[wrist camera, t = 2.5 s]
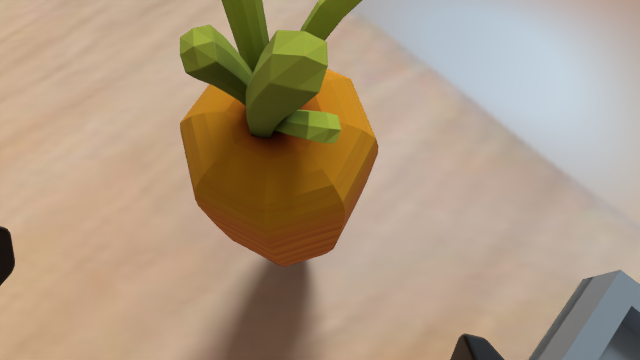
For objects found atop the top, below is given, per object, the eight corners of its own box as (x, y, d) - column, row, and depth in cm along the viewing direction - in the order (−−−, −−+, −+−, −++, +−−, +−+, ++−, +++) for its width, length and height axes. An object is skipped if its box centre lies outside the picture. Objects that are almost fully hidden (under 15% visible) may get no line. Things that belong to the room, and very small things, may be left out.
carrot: (252, 189, 20) (123, -147, 7) (350, 197, 20) (428, -126, 7) (235, 289, 19) (7, 115, 5) (344, 299, 18) (437, 150, 5)
